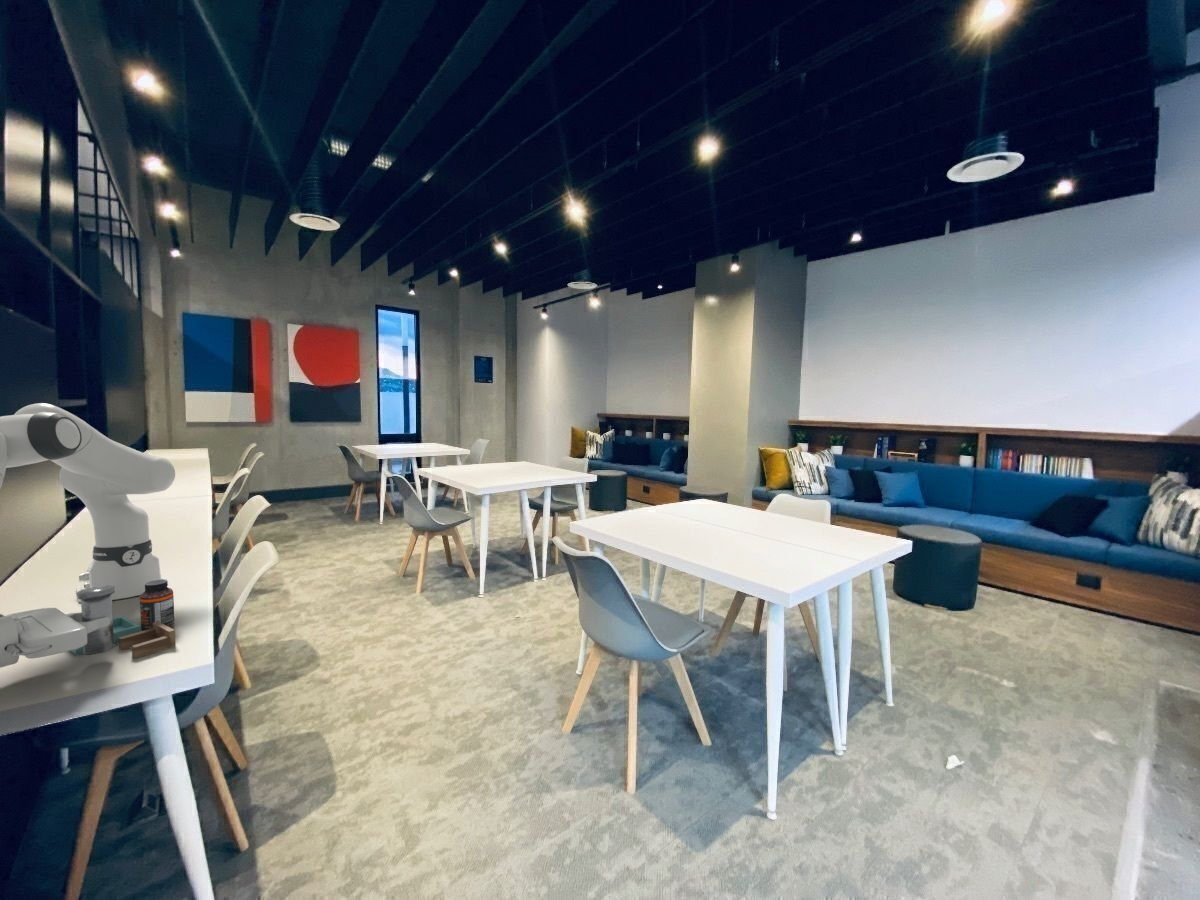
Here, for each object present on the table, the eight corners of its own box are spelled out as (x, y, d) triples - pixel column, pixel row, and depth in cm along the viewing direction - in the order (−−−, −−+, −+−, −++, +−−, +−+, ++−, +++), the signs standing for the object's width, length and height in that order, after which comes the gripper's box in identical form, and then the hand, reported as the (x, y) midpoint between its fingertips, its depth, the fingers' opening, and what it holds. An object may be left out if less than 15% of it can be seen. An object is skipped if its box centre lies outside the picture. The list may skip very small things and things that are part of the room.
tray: (60, 643, 110) (59, 631, 110) (124, 626, 119) (123, 615, 119) (76, 655, 104) (75, 643, 104) (141, 636, 114) (141, 625, 113)
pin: (76, 651, 101) (73, 591, 100) (112, 641, 105) (109, 583, 105) (85, 658, 98) (81, 596, 97) (121, 647, 103) (118, 588, 102)
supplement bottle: (135, 631, 116) (132, 584, 115) (165, 621, 122) (163, 576, 121) (150, 635, 114) (148, 587, 113) (180, 625, 120) (178, 579, 119)
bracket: (118, 648, 108) (118, 632, 108) (158, 636, 114) (158, 621, 113) (134, 658, 103) (134, 642, 103) (175, 646, 109) (174, 630, 109)
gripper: (13, 639, 85) (121, 612, 97) (-15, 614, 95) (86, 592, 107) (15, 675, 85) (123, 644, 97) (-13, 646, 95) (87, 621, 107)
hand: (103, 617), depth 102 cm, fingers closed on pin, 4 cm apart
